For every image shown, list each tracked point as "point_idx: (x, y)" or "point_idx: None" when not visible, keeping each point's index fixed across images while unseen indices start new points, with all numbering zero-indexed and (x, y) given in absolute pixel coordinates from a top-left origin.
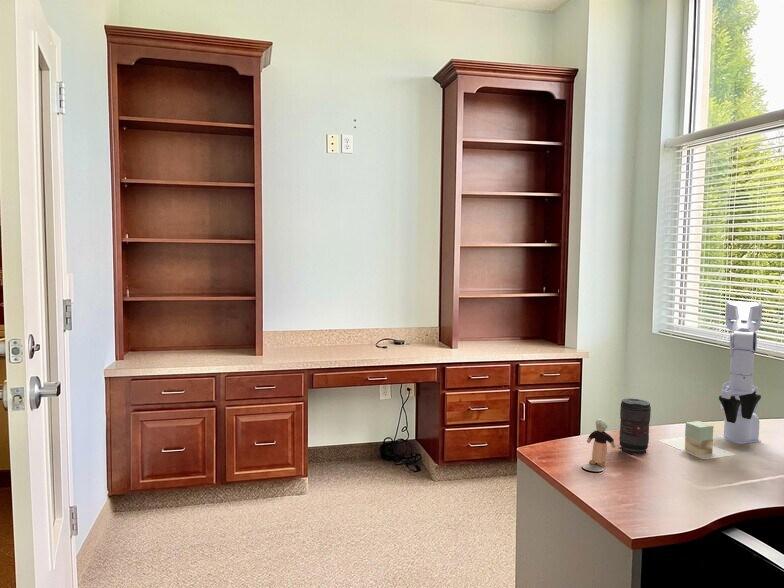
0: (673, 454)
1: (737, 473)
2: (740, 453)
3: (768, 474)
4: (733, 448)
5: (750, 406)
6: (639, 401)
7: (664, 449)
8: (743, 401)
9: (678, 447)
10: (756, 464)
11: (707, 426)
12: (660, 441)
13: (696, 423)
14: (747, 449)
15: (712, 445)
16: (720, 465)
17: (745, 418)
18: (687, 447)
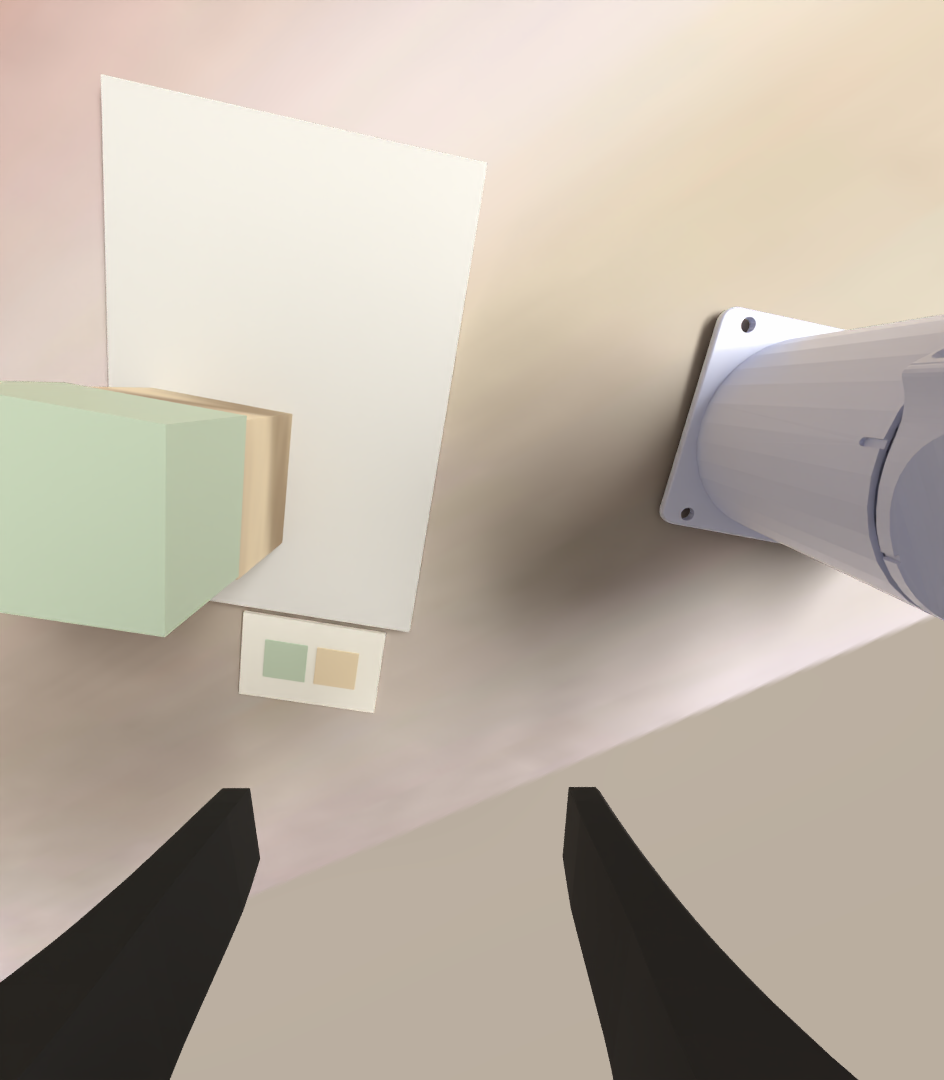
0: None
1: (158, 766)
2: (505, 604)
3: (307, 837)
4: (567, 527)
5: (621, 1073)
6: None
7: (34, 267)
8: (661, 1072)
9: (137, 330)
10: (396, 744)
11: (72, 618)
12: (105, 121)
13: (34, 480)
14: (630, 584)
15: (257, 561)
16: (173, 662)
17: (567, 818)
18: None
